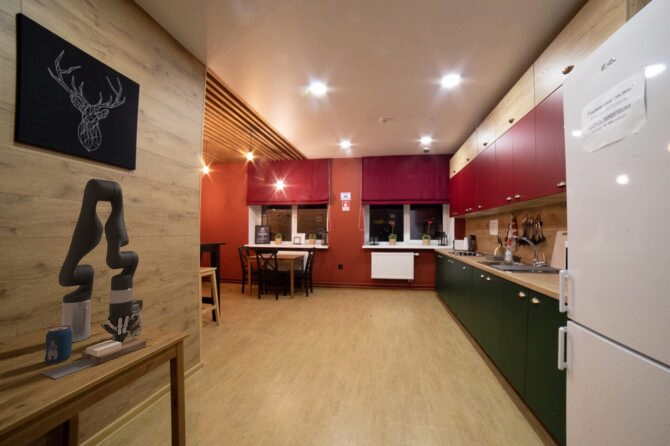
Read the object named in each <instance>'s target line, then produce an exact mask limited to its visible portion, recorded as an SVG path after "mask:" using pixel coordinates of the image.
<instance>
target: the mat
mask: <svg viewBox="0 0 670 446" xmlns="http://www.w3.org/2000/svg"><path fill="white" fill-rule="evenodd" d="M95 365H99V364H98V363H97V362H94V361H91V360H88V359H86V358H80V359H78V360H75V361H72V362H69V363H65V364H63V365H61V366H57V367H55V368H52V369H48V370H45V371H43V372H41V374H42V375H44V376H47V377H48V378H50V379H53V380H54V381H55V380H58V379H60V378H64V377H66V376H68V375H72V374H74V373H78V372H80V371H82V370H84V369H87V368H90V367H92V366H95Z"/></svg>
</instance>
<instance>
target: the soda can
mask: <svg viewBox="0 0 670 446" xmlns="http://www.w3.org/2000/svg"><path fill="white" fill-rule="evenodd" d="M70 327H71V326H62V325H60V326H54V327H51V328H49V329H48V332H47V333H46V334H45V346H44V347H45V348H44V349H45V350H44V362H46V364H48V365H55V364H60V363H62V362H65V361H67V360H69V358H71V355H72V350H73V349H72V348H73V342H72V329H71V328H70Z"/></svg>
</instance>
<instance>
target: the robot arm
mask: <svg viewBox="0 0 670 446" xmlns="http://www.w3.org/2000/svg"><path fill="white" fill-rule="evenodd" d="M81 202H82V203H81V206H80V212H79V215H78V219H77V221H76V224H75V227H74V229H73V234H72V237H71V242H70V245H69V247H68V251H67V254H66V257H65V258H64V260H63V263H62V265H61V268H60V270H59V272H58V284H59V285H60V286H61V287H63V288H67V287H69V288H71V287H77V286H78V288H76V289H75V290H74V291H71V292H69V293H67V294H65V295H64V296H63V297H62V311H61V314H62V315H61V326H71V327H70V328H71V329H72V343H76V342H77V343H78V342H81V341H84V340H87V339H88V338H89V337H90V332H91V331H90V329H91V314H92V312H91V311H92V296H93V291H94V289H93V288H94V279H95V268H94V267H93V265H92V264H86V263H85V264H79V263H80V262H81V260H82V259H83V258H84V257H86V256H87V255H88V254H90V252H92V251H93V250H94V249H95V248H96V247H98V245H99V244H100V243H101V240H102V237H103V235H105V239H106V243H107V246H106V255H105V263H106V266H107V267H108V268H109V269H111V270H121V269H122V270H121V271H120V272H119V273H118V274H114V275H113V276H112V277H111V280H110V292H109V301H108V303H109V304H108V314H109V315H108V317H107V320H106V321H105V322H104V323H100V327H101V328H102V329H103V330H105V331H106V332H107V333H109V335H115V340H114V341H117V342H121V343H123V341H124V340H125V332H126V331H127V330H130V329H131V327H132V326H133V325H134V323H135V322H136V320H137V319H138V316H135V315H133V312H132V309H133V300H134V288H133V286H134V285H133V284H134V276H135V273H136V271H137V269H138V265H139V259H140V258H139V255H138V253H137V252H136V251H134V250H125V251H124V250H123V251H121V250H120V249H121V248H123V247H126V246H128V245H129V243H130V240H129V235H128V232H127V231H128V230H127V227H126V222H125V212H124V211H125V209H124V208H125V207H124V197H123V189H122V187H121V185H120V183H119V182H118V181H114V180H106V179H99V178H91V179H89V180H88V181H87V182H86V185H85V187H84V191H83V196H82V201H81ZM99 202H108V203H109V204H110V206H111V207H110V208H111V211H110V213H109V216H108V218H107V220H106V221H105V224H104V225H103V223H102V221H101V219H100V217H99V216H98V213H97V205H98V203H99ZM111 325H112V327H111ZM113 328H114V329H113Z"/></svg>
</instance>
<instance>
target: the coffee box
mask: <svg viewBox="0 0 670 446" xmlns="http://www.w3.org/2000/svg"><path fill="white" fill-rule="evenodd" d="M143 303H144V299H133V309H132V312H133V315H135V316H138V319H137V320H136V322H135V323H134V325H133V326H132V327H131V329H130V330H127V331H126V332H125V337H127V336H129V337H132V338H135V337H136V336H135V335H137V334H140V333H141V334H142V327H143V326H142V325H143V324H142V323H143V309H144V308H143V306H144V305H143ZM112 329H114V328H113V327H112ZM141 334H140V335H141ZM111 335H112V338H111V340H113V341H115V335H113V334H111ZM134 336H135V337H134ZM137 336H138V335H137Z"/></svg>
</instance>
